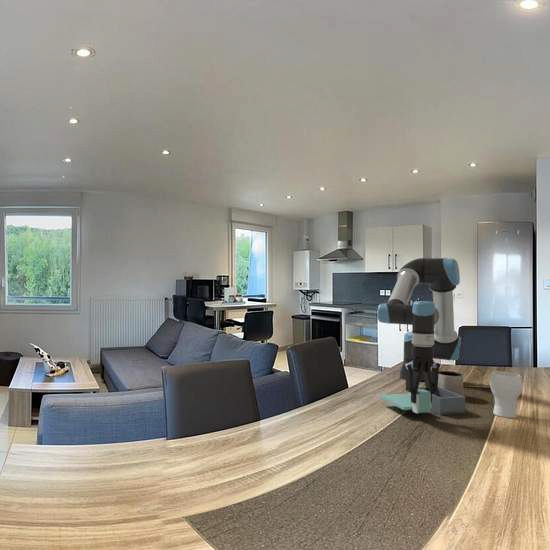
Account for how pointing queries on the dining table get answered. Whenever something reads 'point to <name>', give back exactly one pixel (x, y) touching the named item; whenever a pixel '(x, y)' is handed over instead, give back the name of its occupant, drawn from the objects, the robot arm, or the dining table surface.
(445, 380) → the planter
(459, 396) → the tub
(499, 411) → the cup
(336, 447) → the dining table surface
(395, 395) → the lid
